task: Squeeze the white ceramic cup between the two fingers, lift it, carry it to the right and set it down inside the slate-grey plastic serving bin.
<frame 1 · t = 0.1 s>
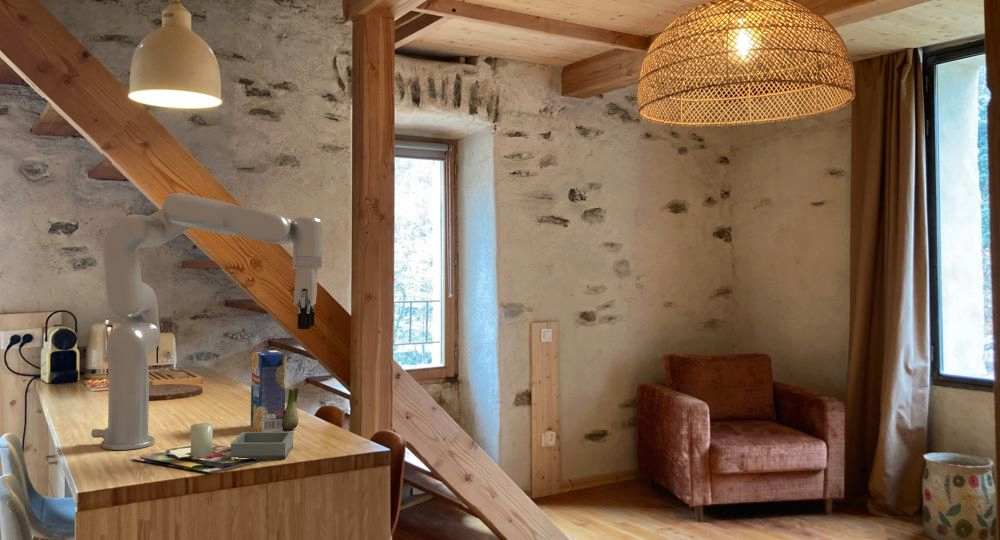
hand: (306, 327, 209), 31 cm above the table, fingers open, 9 cm apart
white ceramic cup: (201, 457, 192), on the table
bin: (262, 453, 198), on the table
fennel bulb: (288, 429, 226), on the table, touching beverage box
beverage box: (267, 428, 227), on the table, touching fennel bulb
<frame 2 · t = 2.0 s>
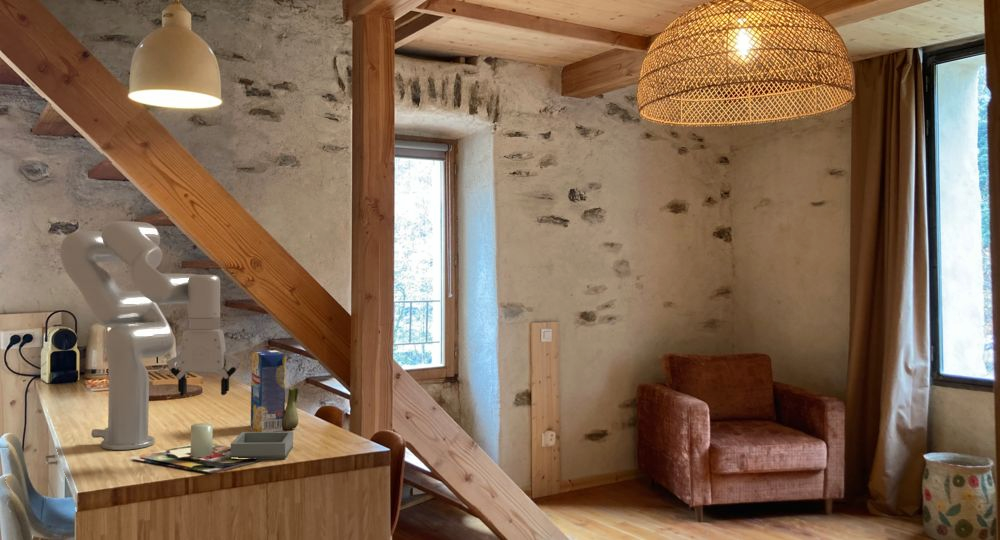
hand: (203, 394, 192), 16 cm above the table, fingers open, 9 cm apart
nothing on the table moved.
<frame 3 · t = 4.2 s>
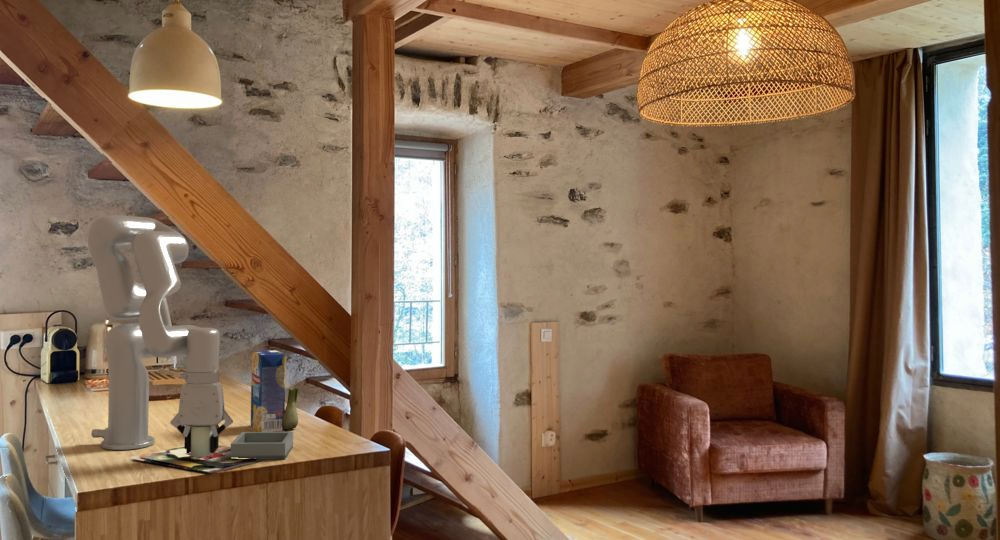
hand: (201, 451, 192), 2 cm above the table, fingers closed on white ceramic cup, 5 cm apart
white ceramic cup: (201, 457, 192), on the table, touching gripper
everything else where it was.
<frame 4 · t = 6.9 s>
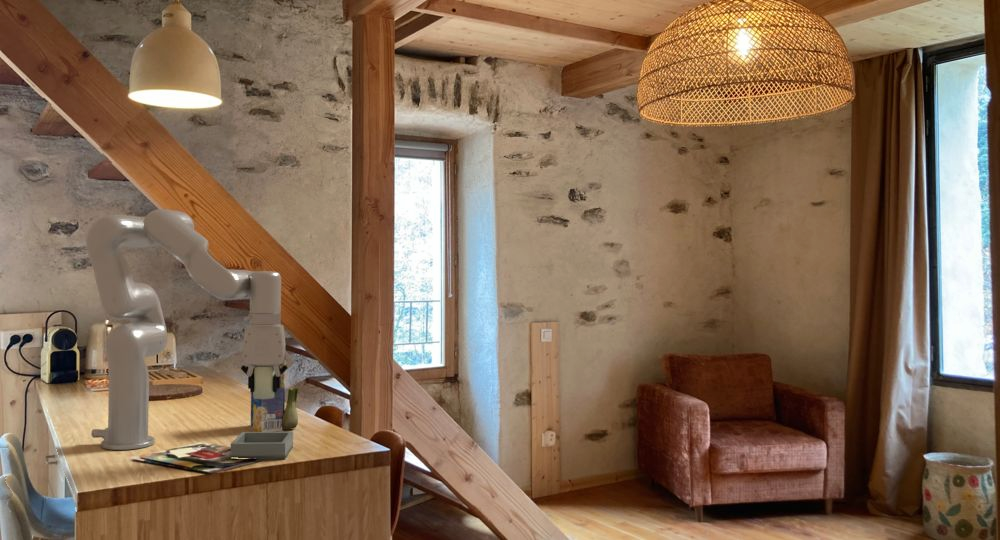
hand: (264, 390, 198), 16 cm above the table, fingers closed on white ceramic cup, 5 cm apart
white ceramic cup: (264, 397, 198), point 14 cm above the table, touching gripper
everything else where it was.
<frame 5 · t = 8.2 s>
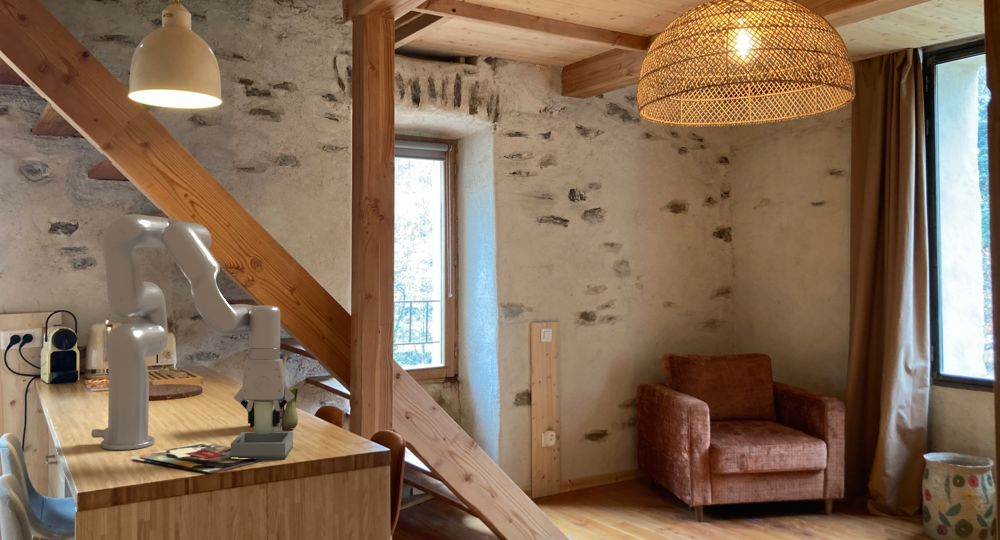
hand: (264, 425, 198), 7 cm above the table, fingers closed on white ceramic cup, 5 cm apart
white ceramic cup: (263, 431, 198), point 5 cm above the table, touching gripper
everything else where it was.
when the fingers open (4 cm above the table, at t = 9.6 s): white ceramic cup drops 2 cm, resting on bin.
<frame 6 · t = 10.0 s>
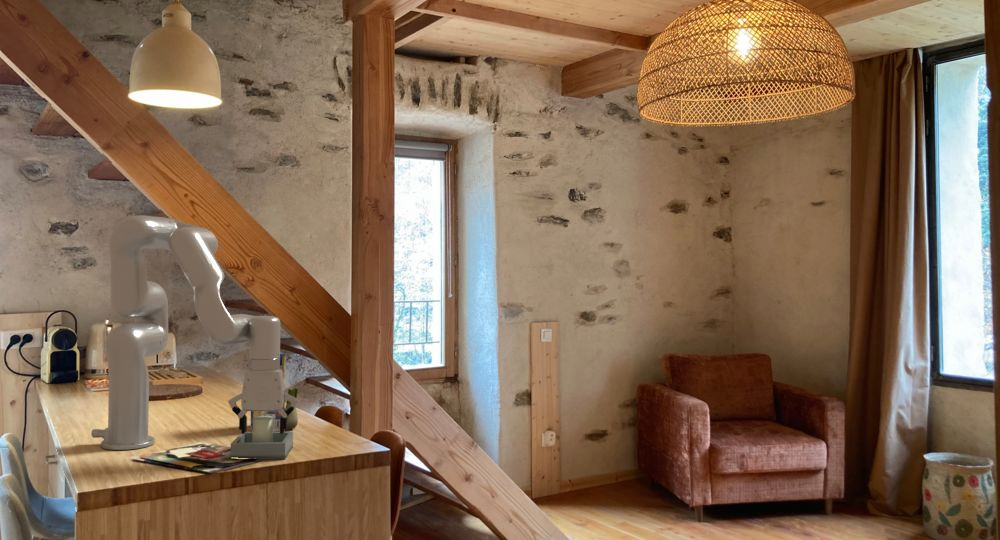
hand: (263, 432, 198), 5 cm above the table, fingers open, 9 cm apart
white ceramic cup: (262, 449, 198), point 1 cm above the table, touching bin
everything else where it was.
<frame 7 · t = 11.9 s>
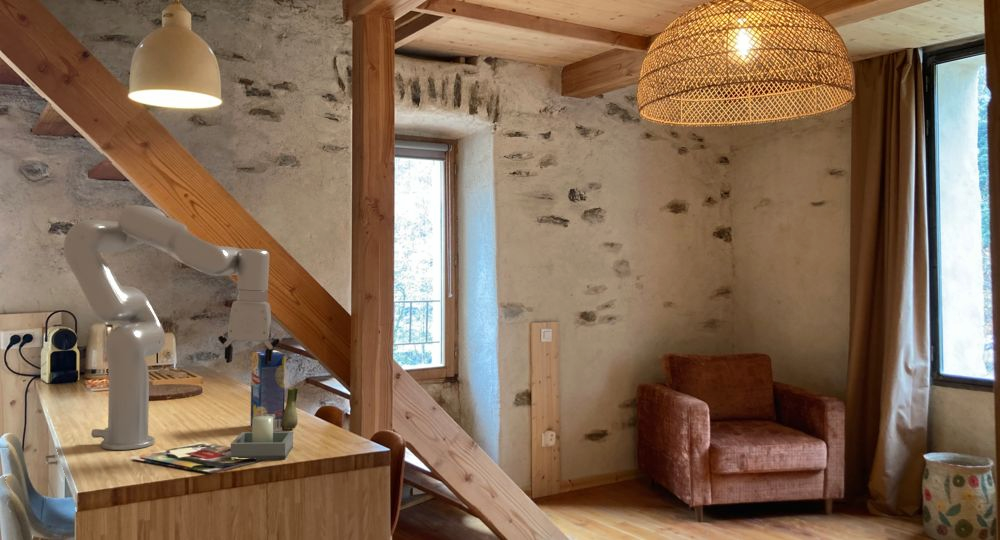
hand: (248, 363, 201), 22 cm above the table, fingers open, 9 cm apart
nothing on the table moved.
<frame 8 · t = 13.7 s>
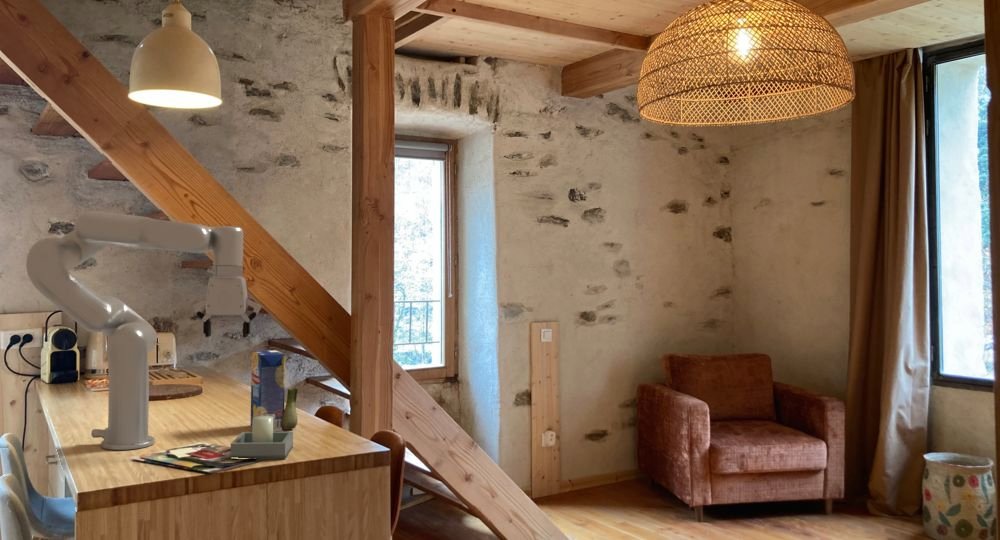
hand: (226, 336, 208), 28 cm above the table, fingers open, 9 cm apart
nothing on the table moved.
at the end: white ceramic cup inside the target area on the bin (0.1 cm from its centre), point 1.0 cm above the bin's base; white ceramic cup tilted 0°; the gripper is holding nothing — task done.
